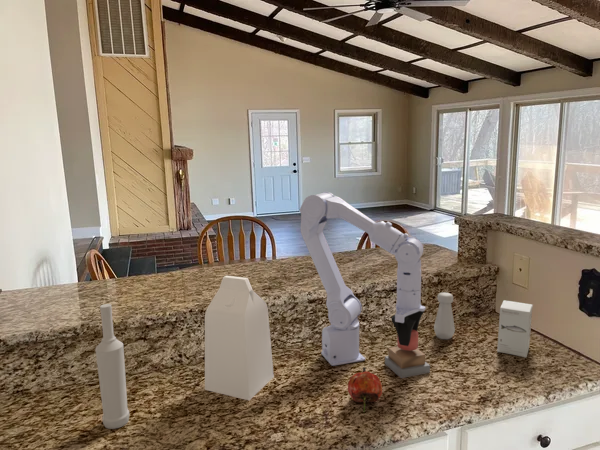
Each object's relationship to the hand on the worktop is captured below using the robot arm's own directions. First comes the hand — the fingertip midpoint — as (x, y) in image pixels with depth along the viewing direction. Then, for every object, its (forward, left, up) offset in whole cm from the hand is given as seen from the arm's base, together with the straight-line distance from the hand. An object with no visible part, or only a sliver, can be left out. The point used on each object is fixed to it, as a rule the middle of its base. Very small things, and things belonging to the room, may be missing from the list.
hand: (407, 340), depth 113 cm
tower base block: (0, 0, -8) cm, 8 cm away
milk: (-41, +7, -7) cm, 42 cm away
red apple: (-17, -11, -8) cm, 22 cm away
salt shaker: (+20, +13, -7) cm, 25 cm away
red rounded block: (0, 0, -1) cm, 1 cm away
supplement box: (+32, -1, -7) cm, 33 cm away
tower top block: (0, 0, -5) cm, 5 cm away
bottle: (-68, 0, -7) cm, 68 cm away
